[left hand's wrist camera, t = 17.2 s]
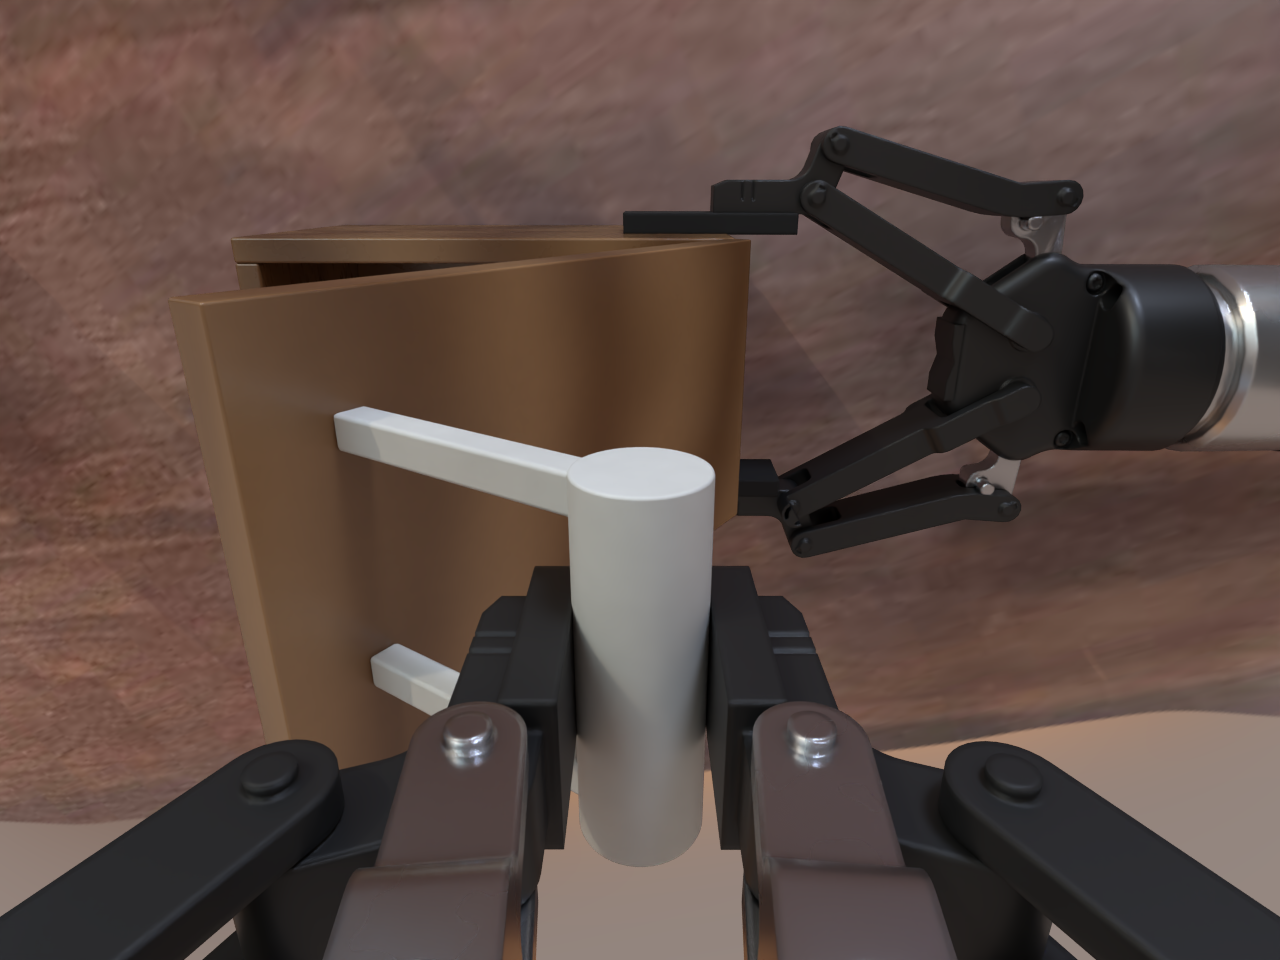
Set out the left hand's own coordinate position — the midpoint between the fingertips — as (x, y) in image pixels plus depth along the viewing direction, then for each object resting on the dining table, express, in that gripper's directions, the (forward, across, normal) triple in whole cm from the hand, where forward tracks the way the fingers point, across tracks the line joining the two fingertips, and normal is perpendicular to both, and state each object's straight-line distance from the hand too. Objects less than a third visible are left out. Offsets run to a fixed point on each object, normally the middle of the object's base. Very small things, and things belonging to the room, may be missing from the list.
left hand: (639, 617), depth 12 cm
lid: (+8, +2, 0) cm, 9 cm away
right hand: (+20, +1, 0) cm, 20 cm away
